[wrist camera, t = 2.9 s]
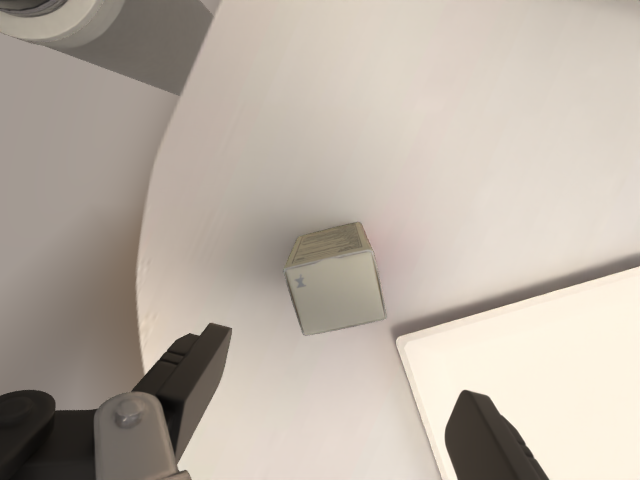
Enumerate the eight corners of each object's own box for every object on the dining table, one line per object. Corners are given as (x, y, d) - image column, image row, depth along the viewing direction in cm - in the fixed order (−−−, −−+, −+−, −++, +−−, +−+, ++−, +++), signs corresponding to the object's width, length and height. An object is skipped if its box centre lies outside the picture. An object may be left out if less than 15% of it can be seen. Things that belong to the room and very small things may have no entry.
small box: (310, 286, 27) (301, 339, 19) (296, 235, 26) (280, 269, 18) (373, 272, 26) (389, 321, 19) (362, 219, 25) (373, 248, 18)
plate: (745, 220, 24) (783, 226, 22) (765, 497, 30) (796, 522, 28) (390, 326, 27) (394, 339, 25) (469, 557, 33) (477, 583, 31)
